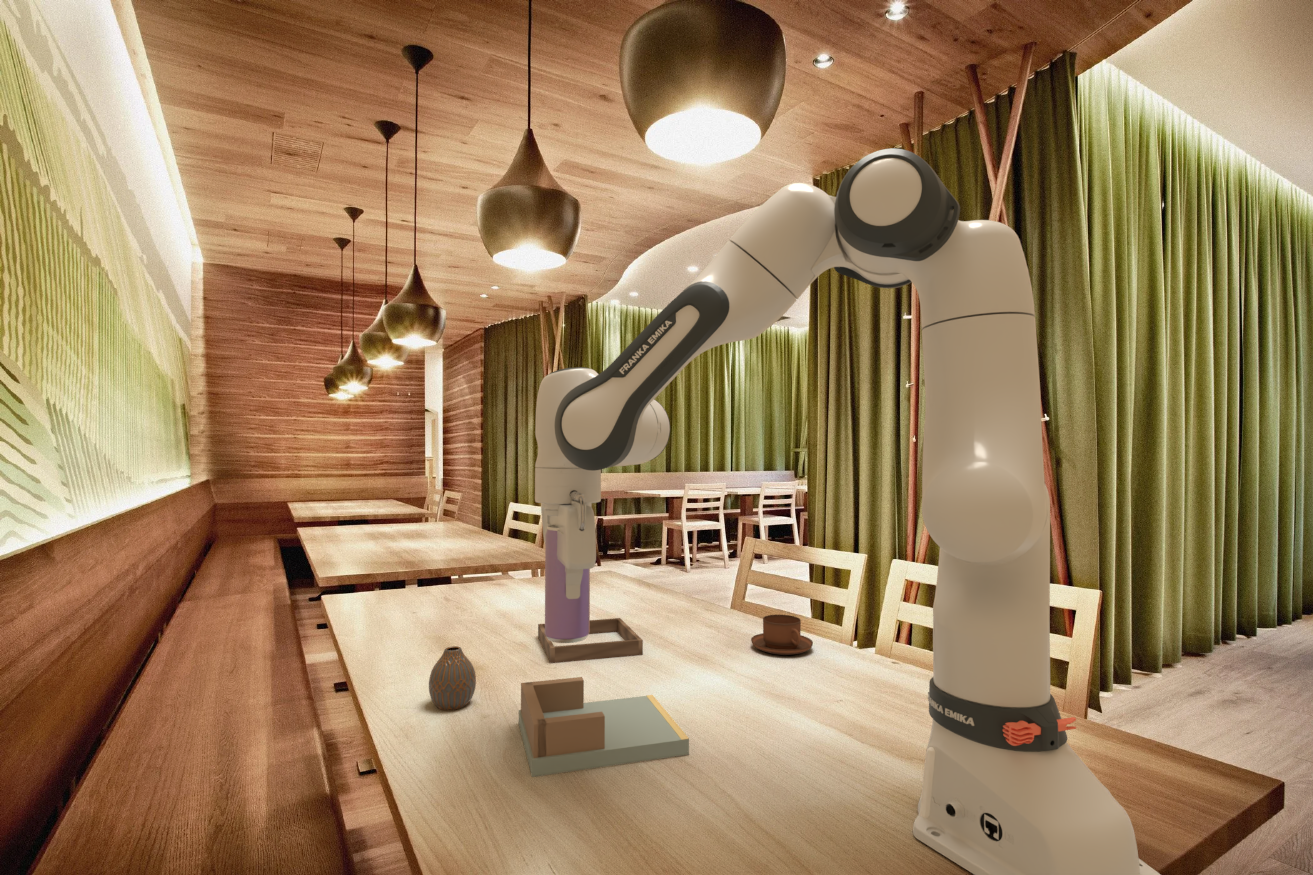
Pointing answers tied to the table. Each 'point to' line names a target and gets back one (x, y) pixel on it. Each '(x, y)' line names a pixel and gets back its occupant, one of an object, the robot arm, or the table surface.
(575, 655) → the serving tray frame
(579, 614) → the beverage can
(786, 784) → the table surface
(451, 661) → the vase
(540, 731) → the dock
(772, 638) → the cup and saucer
